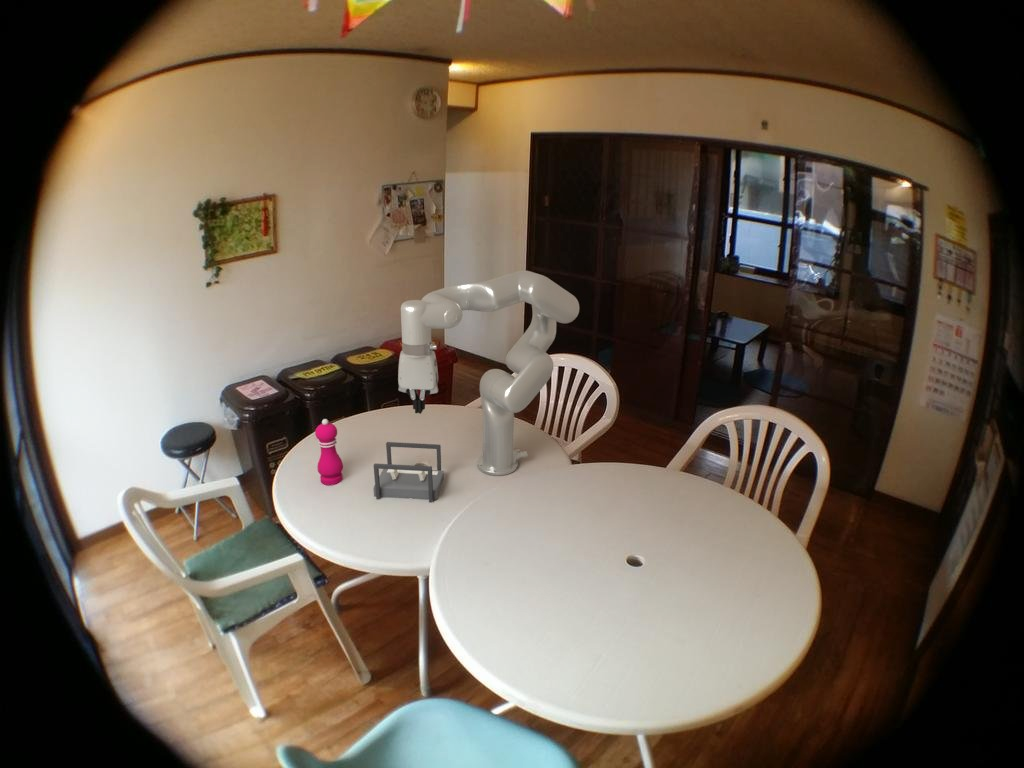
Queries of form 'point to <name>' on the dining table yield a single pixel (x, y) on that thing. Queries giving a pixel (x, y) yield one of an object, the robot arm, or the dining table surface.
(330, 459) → the pepper mill
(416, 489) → the breaker panel
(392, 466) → the dark grey open frame
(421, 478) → the cream cuboid
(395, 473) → the paddle
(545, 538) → the dining table surface
